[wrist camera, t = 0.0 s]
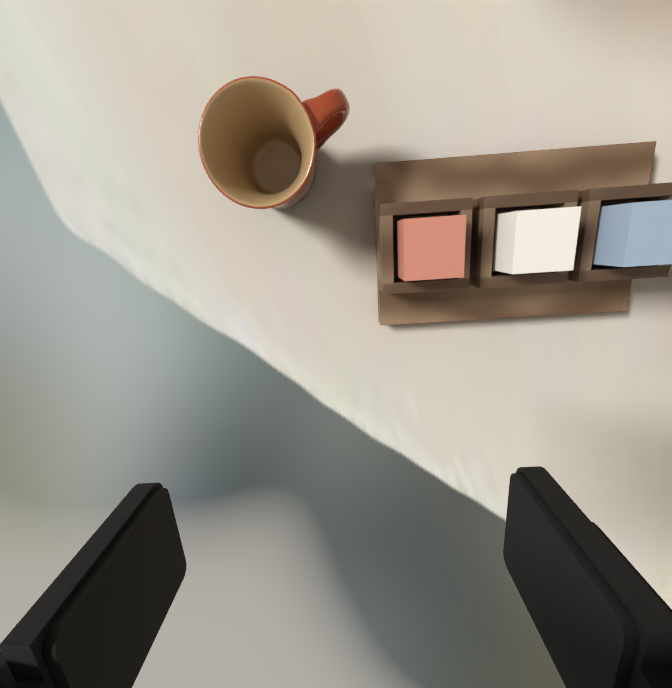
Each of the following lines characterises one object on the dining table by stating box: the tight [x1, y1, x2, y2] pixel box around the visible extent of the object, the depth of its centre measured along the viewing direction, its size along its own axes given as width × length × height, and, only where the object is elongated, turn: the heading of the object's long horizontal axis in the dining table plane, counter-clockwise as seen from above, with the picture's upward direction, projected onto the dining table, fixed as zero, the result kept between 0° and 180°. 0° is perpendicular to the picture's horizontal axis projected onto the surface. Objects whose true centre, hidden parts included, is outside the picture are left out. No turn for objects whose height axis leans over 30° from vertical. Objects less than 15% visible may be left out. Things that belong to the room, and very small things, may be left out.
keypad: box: [374, 141, 672, 325], centre depth 34 cm, size 16×26×6 cm, turn 94°
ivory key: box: [493, 206, 581, 274], centre depth 30 cm, size 5×5×4 cm
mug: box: [198, 76, 350, 209], centre depth 30 cm, size 12×9×10 cm
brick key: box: [397, 215, 466, 281], centre depth 31 cm, size 5×5×4 cm
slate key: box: [592, 200, 672, 267], centre depth 30 cm, size 5×5×4 cm
